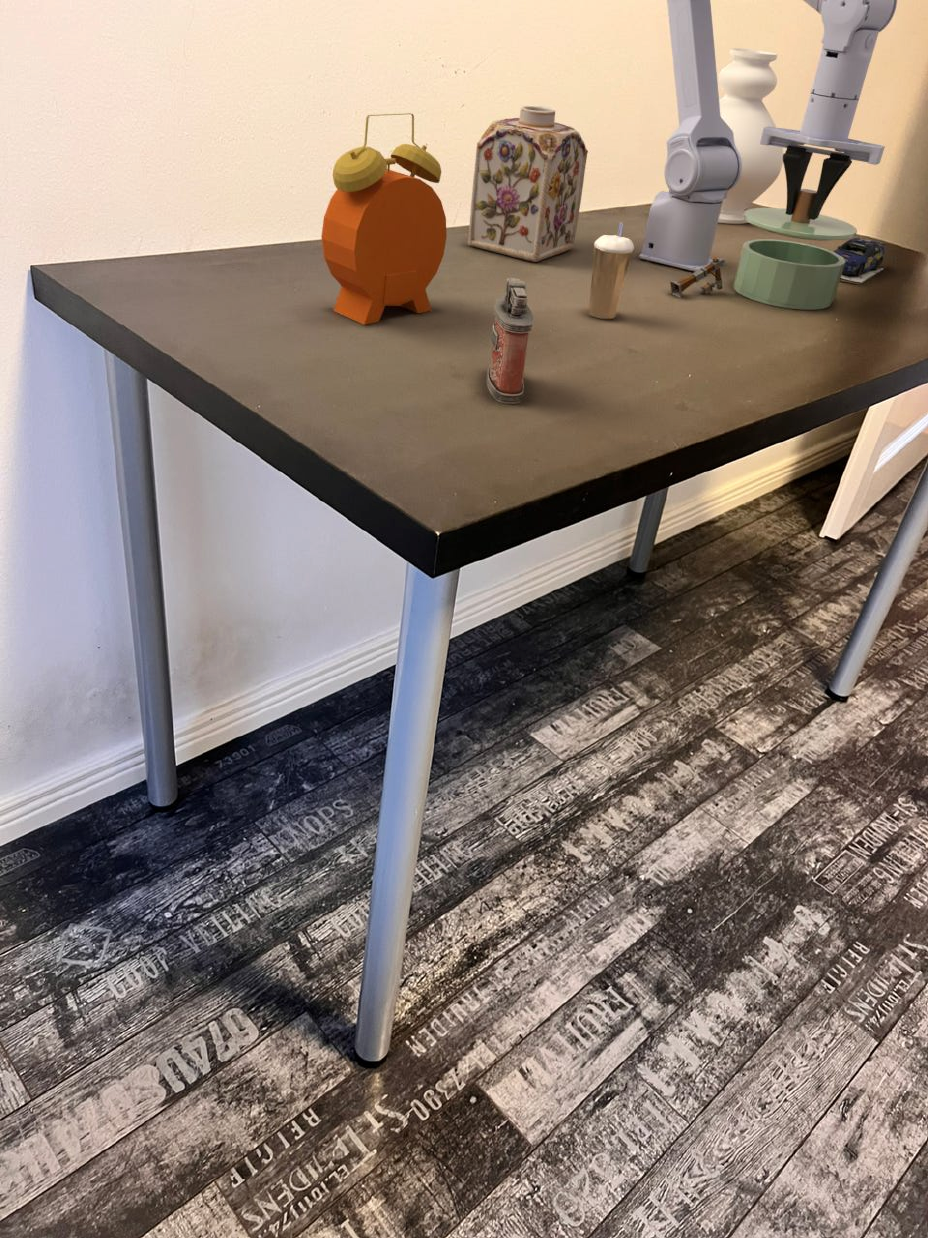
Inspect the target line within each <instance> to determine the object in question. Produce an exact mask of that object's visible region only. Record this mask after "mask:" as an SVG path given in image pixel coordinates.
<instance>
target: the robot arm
mask: <svg viewBox="0 0 928 1238" xmlns="http://www.w3.org/2000/svg"><path fill="white" fill-rule="evenodd" d="M802 1H803V2H804V3H806V4H807V5H808V6H809V7H810V8H812V9H813V10H814V11H815V12H817V13H818V14H819V15H821V22H822V24H823V35H822V39H821V44H822V48H821V51H820V54H819V59H818V62H817V67H816V70H815V73H814V77H813V81H812V84H811V89H810V93H809V95H808V100H807V103H806V108H805V112H804V115H803V120H802V123H801V126H800V130H799V129H792V128H791V129H790V128H783V127H777V126H776V127H770V126H768V127H764V129H763V133H762V137H761V141H760V144H762V145H772V146H778V147H783V149H786V150H785V152H783V164H782V165H783V168H784V173H785V181H786V207H785V209H786V213H785V214H787V215H792V213H793V209H794V206H795V202H796V198H797V195H798V191H799V189H802V186H803V183H804V179H805V176H806V173H807V170H808V167H809V165H810V162H811V159H812V156H813V154H818V155H822V156H828V157H827V158H826V157H825V158H824V159H823V161H822V167H821V172H820V176H819V181H818V184H817V185H818V186H817V189H816V191H817V193H816V196H815V199H814V202H813V205H812V208H811V211H810V215H809V219H812V220H815V219H817V218H818V216H819V214H820V213H821V211H822V210H823V207H824V205H825V203H826V201H827V199H828V197H829V195H830V194H831V193H832V191H833V190H834V188H835V186H836V185H837V184H838V182H839V180H840V179H841V178H842V177H843V176H844V174H845V172H847V170H848V169H849V168H850V166H851V165H852V163H853V161H858V162H862V163H867V164H869V165H874V166H876V165H879V164H880V163H881V161H882V157H883V154H884V151H885V148H886V145H881V144H876V143H871V142H866V141H862V140H857V139H853V138H850V137H849V136H850V131H851V129H852V125H853V122H854V118H855V115H856V111H857V108H858V105H859V101H860V98H861V96H862V95H861V94H862V91H863V88H864V84H865V80H866V77H867V74H868V70H869V68H870V63H871V60H872V57H873V53H874V50H875V46H876V42H877V40H878V36H879V33H881V32H882V31H884V30H885V29H886V27H887V26H888V25H889V24H890V23H891V21H892V19H893V17H894V16H895V13H896V9H897V5H898V0H802ZM666 4H667V16H668V24H669V26H668V27H669V33H670V34H669V35H670V43H671V44H670V45H671V54H672V55H671V56H672V66H673V75H674V86H675V94H676V95H675V96H676V105H677V116H678V127H676V129H675V130H674V132H673V133H672V134H671V135H670V137H669V138H668V140H667V141H666V149H667V153H666V161H665V164H664V180H665V185H666V187H667V188H668V191H665V190H661V191H659V192H658V193H656V195H655V197H654V198H653V200H652V203H651V205H650V208H649V213H648V215H647V216H648V217H647V223H646V227H645V234H644V238H643V243H642V247H641V252H640V254H639V255H638V258H639V259H641V260H646V261H649V262H654V263H658V264H663V265H666V266H670V267H675V268H679V269H683V270H687V271H691V272H696V271H697V270H698V269H699V270H700V268H704V267H706V266H708V265H709V264H710V262H712V261H713V259H714V258H715V257H714V258H713V257H711V254H712V249H713V245H714V242H715V237H716V231H717V228H718V224H719V222H718V220H719V215H720V211H721V207H722V202H723V199H726V197H727V193H728V191H730V190H731V189H732V188H733V187H734V186H735V185H736V184H737V182H738V180H739V178H740V175H741V170H742V160H741V156H740V153H739V152H738V150H737V148H736V146H735V142H734V134H733V131H732V130H731V129H730V127H729V126H728V125H727V124H726V123H725V121H724V120H723V119H722V118H721V116H720V104H719V100H720V95H719V82H718V73H717V72H718V71H717V61H716V60H717V59H716V48H715V38H714V26H713V15H712V4H711V0H666ZM806 145H809V146H806ZM812 146H813V147H812ZM819 147H820V148H819ZM823 148H827V149H823ZM829 149H834V150H829Z"/></svg>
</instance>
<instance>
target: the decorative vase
mask: <svg viewBox="0 0 928 1238" xmlns="http://www.w3.org/2000/svg"><path fill="white" fill-rule="evenodd" d="M729 55H730V56H731V57H733V58H734V59H733V61H731V62H730V63H728V64H727V65H725V66H724V67H723V68H722V69H721V70H720V72H719V73H718V75H717V82H718V86H719V87H720V89H721V90H722V92H723V93H724V95H723V97H721V98H719V104H720V116H721V118H722V119H723V120H724V121H725V123H726V124H727V125H728V126H729V127H730V129H731V130H732V131H733V134H734V142H735V146H736V148H737V150H738V152H739V153H740V156H741V160H742V170H741V175H740V178H739V180H738V182H737V184H736V185H735V186H734V187H733V188H732V189H731V190H730V191H728V193H727V197H726V199H723V202H722V207H721V211H720V215H719V220H718V224H719V223H720V224H730V225H732V224H733V225H741V224H742V225H743V224H748V223H749V222H748V221H746V220H745V219H744V213H745V211H746V208H748V207H749V206H751V205H752V204H753V203H754V202H755V201H756V200H757V199H758V198H759V197H760V196H761V195H763V194H764V193H765V192H766V191H767V190H768V189H769V188H770V187H771V186H772V185H773V184H774V183H775V181H776V180H777V179H778V177H779V175H780V174H781V171H782V168H783V165H784V164H783V154H784V148H783V147H778V146H772V145H762V144H760V141H761V137H762V133H763V129H764V127H768V126H770V127H776V128H777V126H776V123H775V121H774V120H773V117H772V116H771V114H770V112H769V111H768V109H767V107H766V105H765V104H764V101H763V99H764V98H766V97H767V96H769V95H770V94H771V93H772V92H774V90H775V89H776V87H777V84H778V78H777V75H776V73H775V71H774V70H773V68H772V67H771V66H770V63H772V62H774V61H776V60H777V59H778V54H777V53H775V52H769V51H764V50H763V51H762V50H756V49H748V48H736V47H731V48H730V50H729ZM749 224H750V223H749Z"/></svg>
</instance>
